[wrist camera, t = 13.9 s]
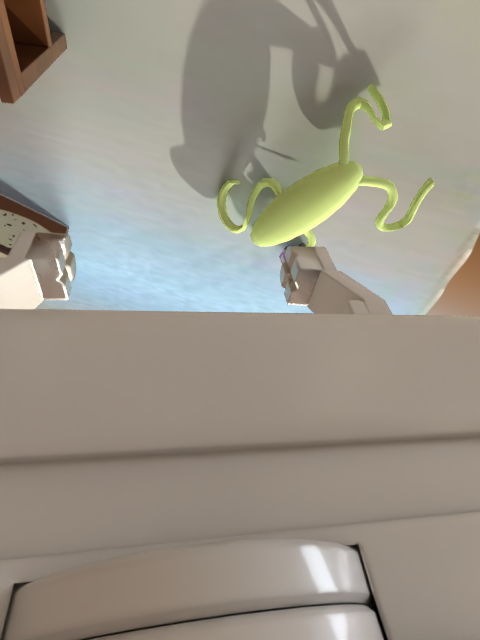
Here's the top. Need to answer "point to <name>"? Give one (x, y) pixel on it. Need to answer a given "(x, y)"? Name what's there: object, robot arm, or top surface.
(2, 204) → the food container
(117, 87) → the top surface
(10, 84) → the stand
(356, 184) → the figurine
